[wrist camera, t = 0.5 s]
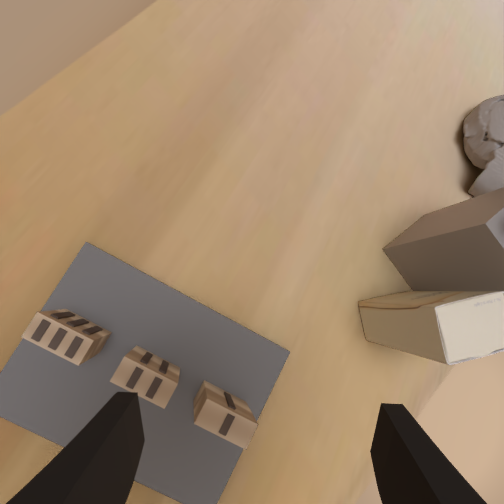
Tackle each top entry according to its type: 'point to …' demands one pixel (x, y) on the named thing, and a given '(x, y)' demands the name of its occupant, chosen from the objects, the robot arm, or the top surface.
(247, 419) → the tile one
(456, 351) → the skincare box
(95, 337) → the tile three
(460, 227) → the perfume bottle
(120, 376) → the tile two
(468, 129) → the grey clay mound
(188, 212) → the top surface
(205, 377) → the mat
